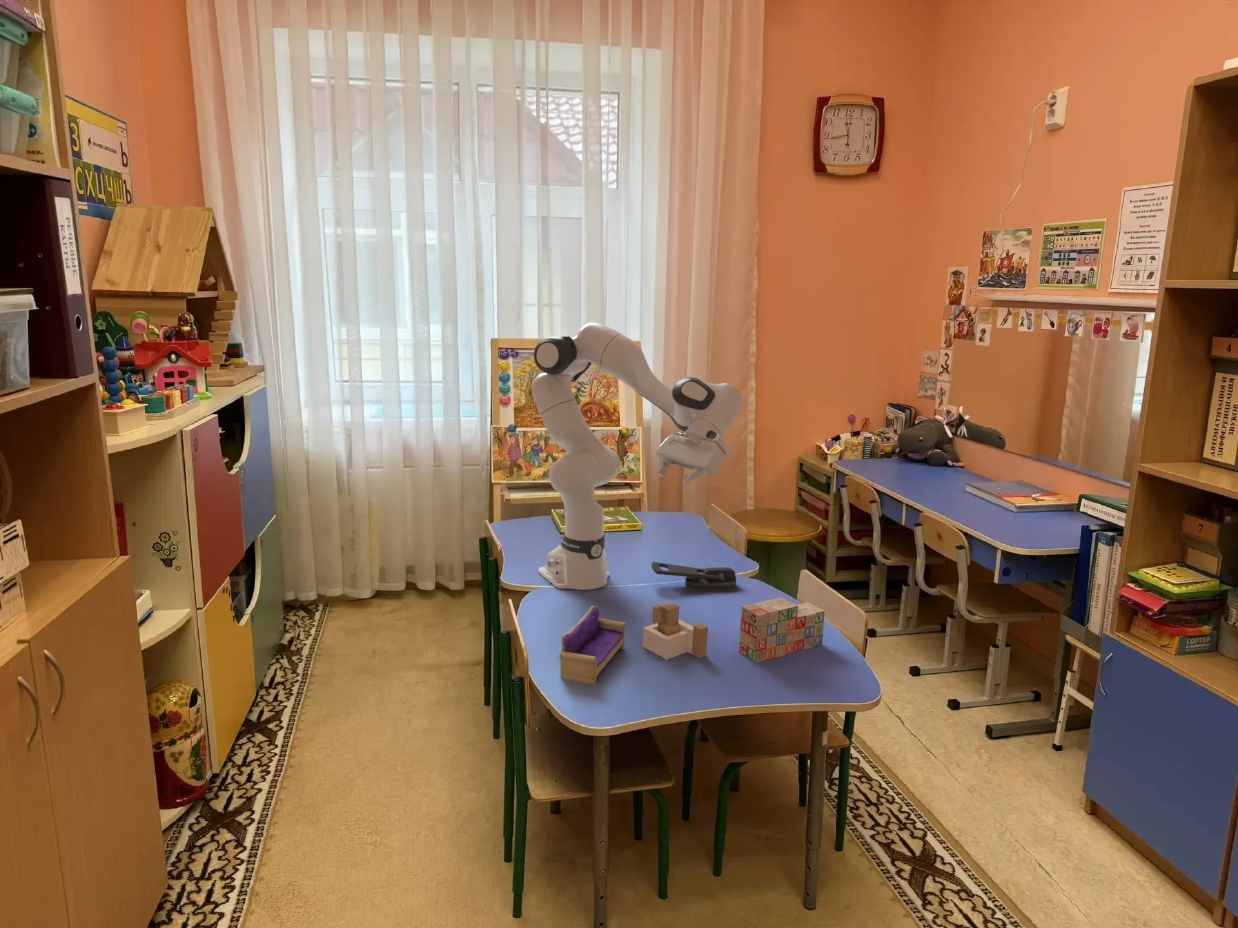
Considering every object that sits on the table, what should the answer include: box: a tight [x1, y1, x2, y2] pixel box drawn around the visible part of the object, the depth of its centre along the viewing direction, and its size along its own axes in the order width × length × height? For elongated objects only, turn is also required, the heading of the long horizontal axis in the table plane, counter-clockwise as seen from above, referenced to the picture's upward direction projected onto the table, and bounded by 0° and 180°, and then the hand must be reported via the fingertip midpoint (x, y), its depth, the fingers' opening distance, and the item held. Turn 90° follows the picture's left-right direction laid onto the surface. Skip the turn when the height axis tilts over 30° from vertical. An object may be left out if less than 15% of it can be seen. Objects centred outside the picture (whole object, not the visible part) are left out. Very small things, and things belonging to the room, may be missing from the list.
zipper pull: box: [650, 561, 737, 592], centre depth 241 cm, size 9×7×25 cm
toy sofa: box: [558, 605, 627, 686], centre depth 192 cm, size 21×9×10 cm, turn 160°
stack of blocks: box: [738, 597, 825, 663], centre depth 202 cm, size 21×6×12 cm, turn 120°
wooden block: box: [658, 601, 680, 636], centre depth 200 cm, size 4×4×11 cm
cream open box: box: [642, 603, 709, 660], centre depth 201 cm, size 17×9×8 cm, turn 40°
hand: (672, 478), depth 212 cm, fingers open, 8 cm apart
